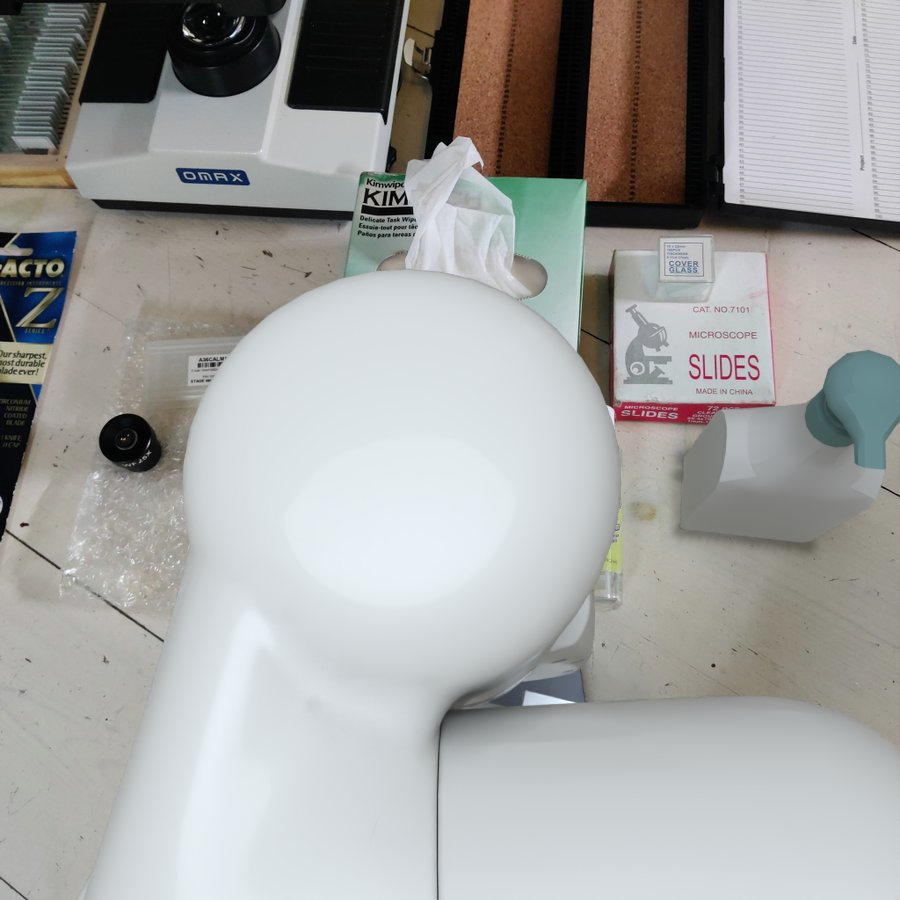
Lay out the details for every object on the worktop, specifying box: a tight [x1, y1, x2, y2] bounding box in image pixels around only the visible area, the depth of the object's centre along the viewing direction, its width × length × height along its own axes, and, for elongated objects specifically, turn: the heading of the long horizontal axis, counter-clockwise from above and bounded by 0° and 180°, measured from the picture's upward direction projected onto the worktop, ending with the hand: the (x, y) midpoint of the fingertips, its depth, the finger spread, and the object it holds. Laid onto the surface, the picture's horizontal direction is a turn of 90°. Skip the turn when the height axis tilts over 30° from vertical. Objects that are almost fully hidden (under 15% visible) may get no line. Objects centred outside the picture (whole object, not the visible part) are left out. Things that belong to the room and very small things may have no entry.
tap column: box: [489, 668, 586, 707], centre depth 58 cm, size 9×9×19 cm
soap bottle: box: [679, 349, 900, 544], centre depth 59 cm, size 11×8×27 cm
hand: (464, 637), depth 41 cm, fingers closed
